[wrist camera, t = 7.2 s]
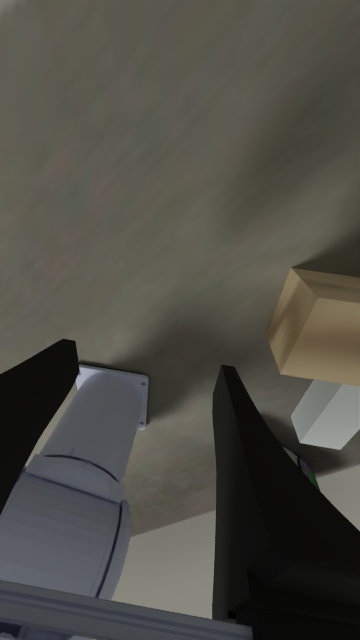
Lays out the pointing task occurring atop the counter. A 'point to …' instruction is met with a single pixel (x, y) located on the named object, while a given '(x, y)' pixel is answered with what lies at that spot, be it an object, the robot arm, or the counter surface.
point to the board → (327, 414)
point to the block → (318, 327)
